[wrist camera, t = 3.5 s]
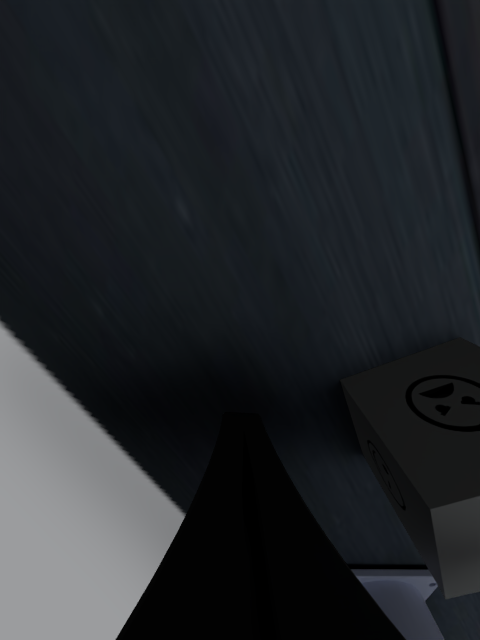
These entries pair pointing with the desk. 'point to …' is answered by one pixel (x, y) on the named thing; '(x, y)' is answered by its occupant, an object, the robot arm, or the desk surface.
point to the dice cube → (427, 452)
